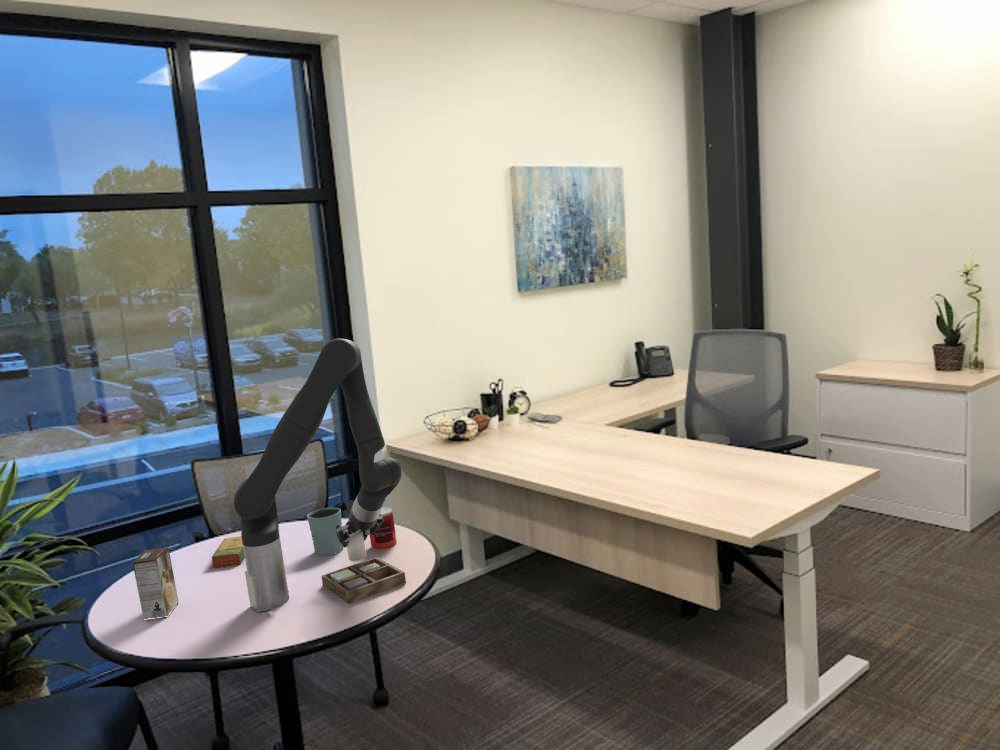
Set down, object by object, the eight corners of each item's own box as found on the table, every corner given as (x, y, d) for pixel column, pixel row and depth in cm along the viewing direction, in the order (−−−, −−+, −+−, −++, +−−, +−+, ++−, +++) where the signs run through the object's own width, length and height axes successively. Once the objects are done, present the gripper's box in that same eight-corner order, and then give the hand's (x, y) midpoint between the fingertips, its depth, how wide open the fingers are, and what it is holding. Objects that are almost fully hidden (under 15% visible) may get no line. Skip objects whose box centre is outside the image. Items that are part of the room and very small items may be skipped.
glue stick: (353, 562, 222) (349, 529, 221) (345, 557, 226) (341, 525, 225) (368, 557, 225) (364, 524, 224) (361, 553, 229) (357, 521, 228)
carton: (252, 547, 256) (250, 534, 255) (241, 566, 240) (239, 552, 239) (225, 550, 255) (223, 537, 254) (212, 569, 239) (210, 556, 239)
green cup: (319, 559, 237) (313, 520, 235) (307, 550, 246) (302, 513, 244) (351, 549, 242) (345, 511, 240) (339, 541, 251) (333, 504, 249)
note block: (339, 590, 210) (337, 579, 210) (331, 585, 215) (330, 574, 214) (356, 584, 213) (355, 573, 213) (348, 579, 217) (347, 569, 217)
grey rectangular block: (365, 580, 215) (364, 571, 215) (359, 577, 218) (358, 568, 218) (381, 574, 218) (380, 565, 218) (376, 571, 221) (374, 562, 221)
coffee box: (155, 606, 215) (144, 549, 213) (179, 603, 216) (169, 546, 213) (142, 621, 206) (131, 562, 204) (168, 618, 207) (157, 558, 204)
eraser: (351, 598, 204) (349, 587, 204) (344, 594, 208) (343, 583, 207) (369, 592, 207) (367, 581, 207) (362, 588, 211) (360, 577, 210)
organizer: (349, 605, 202) (347, 592, 201) (323, 588, 215) (321, 575, 215) (406, 584, 211) (404, 572, 210) (378, 569, 224) (376, 557, 224)
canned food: (384, 539, 248) (379, 505, 246) (402, 543, 243) (397, 508, 241) (365, 548, 242) (360, 513, 240) (383, 552, 237) (378, 516, 235)
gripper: (384, 491, 221) (370, 524, 232) (336, 504, 213) (323, 537, 225) (395, 514, 217) (380, 546, 229) (347, 528, 209) (333, 560, 221)
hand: (352, 541), depth 227 cm, fingers closed on glue stick, 4 cm apart
